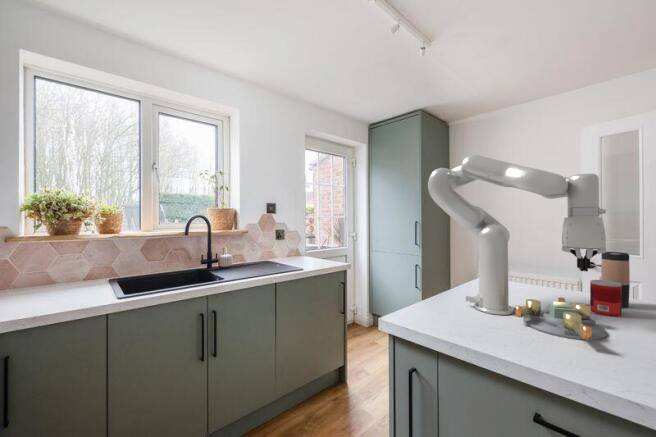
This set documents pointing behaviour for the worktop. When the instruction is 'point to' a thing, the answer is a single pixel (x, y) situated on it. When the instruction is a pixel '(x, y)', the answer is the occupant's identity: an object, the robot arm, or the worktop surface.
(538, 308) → the knob
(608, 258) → the travel mug
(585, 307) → the knob
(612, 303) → the canned food
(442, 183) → the robot arm
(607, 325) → the worktop surface
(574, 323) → the knob
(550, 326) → the tribrach
